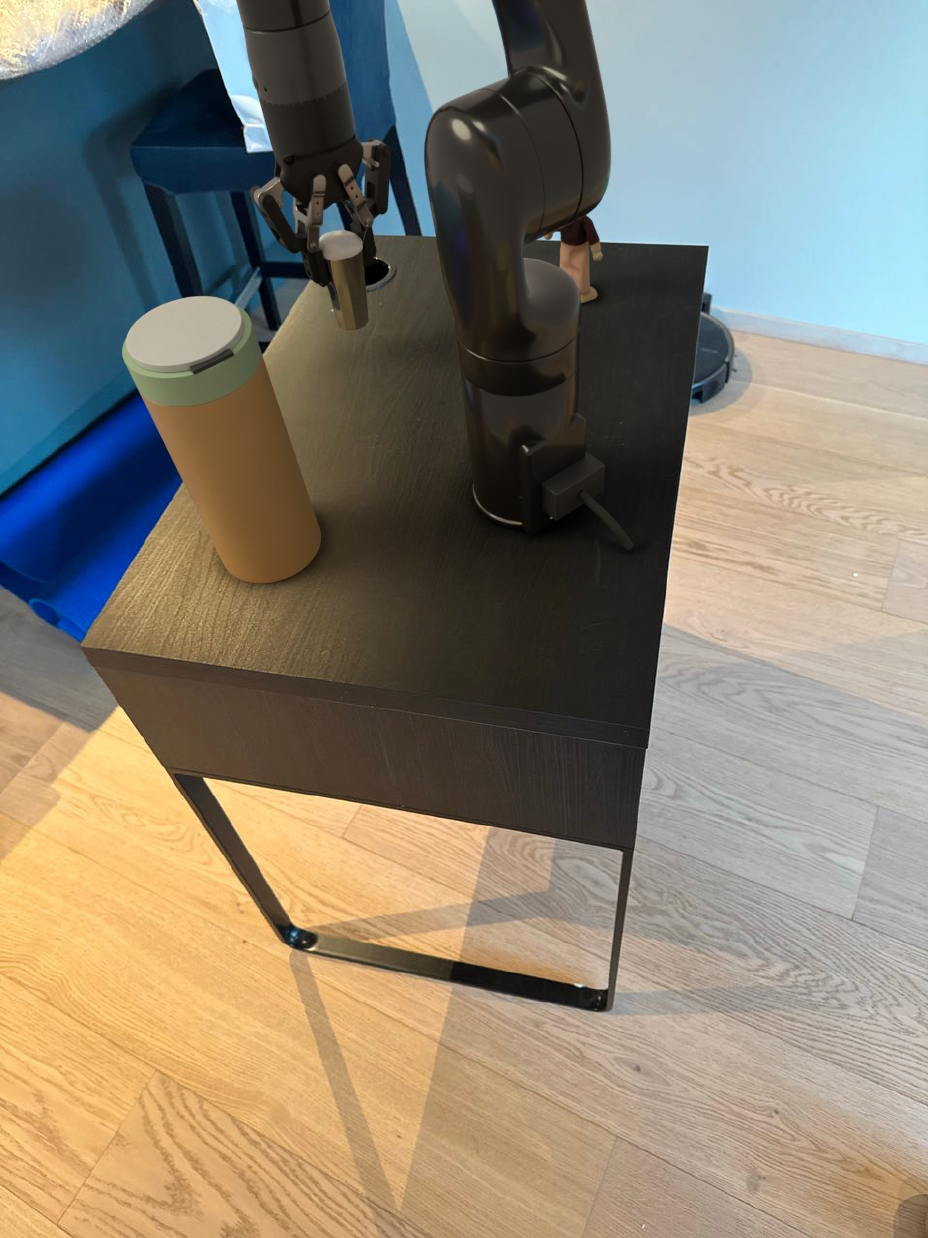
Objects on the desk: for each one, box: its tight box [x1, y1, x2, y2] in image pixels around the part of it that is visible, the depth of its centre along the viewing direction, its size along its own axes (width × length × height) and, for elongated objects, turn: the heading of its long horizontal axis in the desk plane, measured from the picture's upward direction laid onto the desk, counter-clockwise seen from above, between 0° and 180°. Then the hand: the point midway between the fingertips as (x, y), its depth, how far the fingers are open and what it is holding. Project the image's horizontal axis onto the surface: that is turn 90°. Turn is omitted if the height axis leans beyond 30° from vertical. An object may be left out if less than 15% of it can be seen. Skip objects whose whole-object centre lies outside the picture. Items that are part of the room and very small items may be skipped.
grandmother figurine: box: [543, 214, 604, 304], centre depth 89 cm, size 8×4×13 cm, turn 58°
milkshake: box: [319, 224, 370, 331], centre depth 83 cm, size 4×5×10 cm
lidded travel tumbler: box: [121, 295, 322, 584], centre depth 66 cm, size 9×9×22 cm
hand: (344, 271), depth 83 cm, fingers closed on milkshake, 4 cm apart
